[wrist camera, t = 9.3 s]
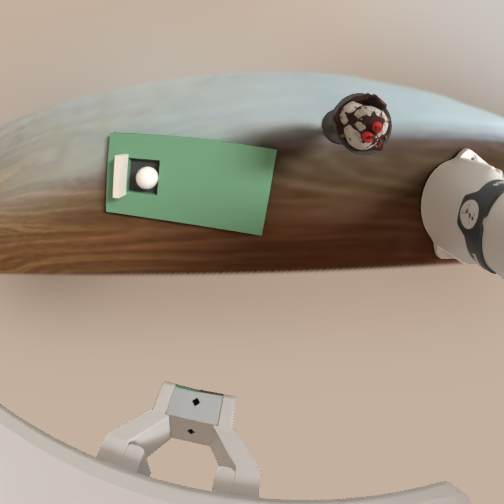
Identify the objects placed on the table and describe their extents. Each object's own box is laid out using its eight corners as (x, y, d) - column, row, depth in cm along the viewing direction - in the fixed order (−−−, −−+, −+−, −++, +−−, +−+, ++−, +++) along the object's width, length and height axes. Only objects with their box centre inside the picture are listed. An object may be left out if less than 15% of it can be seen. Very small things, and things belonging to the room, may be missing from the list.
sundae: (333, 159, 38) (369, 172, 24) (307, 117, 36) (331, 106, 22) (371, 136, 36) (423, 139, 22) (346, 95, 34) (389, 75, 20)
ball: (163, 168, 38) (142, 168, 35) (161, 190, 39) (140, 191, 37) (153, 164, 40) (133, 165, 37) (151, 186, 41) (131, 187, 39)
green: (276, 149, 38) (277, 150, 34) (261, 232, 42) (261, 241, 39) (113, 132, 37) (101, 133, 34) (109, 209, 42) (98, 215, 39)
